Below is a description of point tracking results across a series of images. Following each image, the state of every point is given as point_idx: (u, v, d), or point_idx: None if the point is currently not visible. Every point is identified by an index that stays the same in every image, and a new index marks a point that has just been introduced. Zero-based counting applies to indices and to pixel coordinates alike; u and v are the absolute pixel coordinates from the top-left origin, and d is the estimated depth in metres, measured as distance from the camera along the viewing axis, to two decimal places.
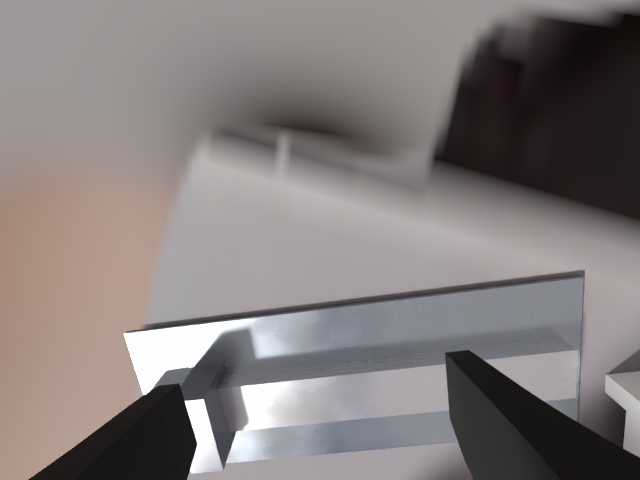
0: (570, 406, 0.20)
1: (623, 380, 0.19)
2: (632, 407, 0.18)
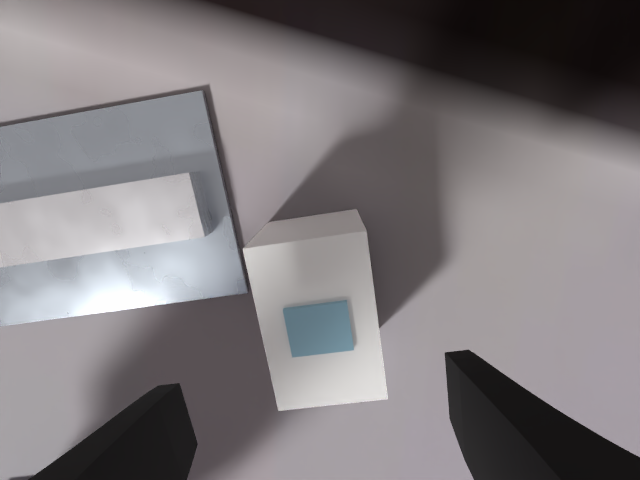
0: (231, 261, 0.17)
1: (275, 223, 0.16)
2: None
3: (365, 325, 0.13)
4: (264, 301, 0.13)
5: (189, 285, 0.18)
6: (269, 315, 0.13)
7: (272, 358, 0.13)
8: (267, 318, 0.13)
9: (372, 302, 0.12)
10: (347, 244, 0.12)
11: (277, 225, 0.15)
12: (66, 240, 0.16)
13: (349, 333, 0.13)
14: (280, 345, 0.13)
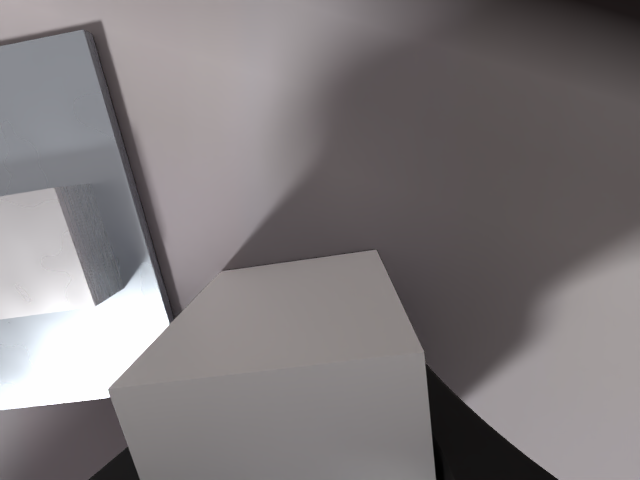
0: None
1: (230, 276, 0.09)
2: None
3: None
4: None
5: (89, 375, 0.10)
6: None
7: None
8: None
9: None
10: (372, 383, 0.05)
11: (230, 286, 0.08)
12: None
13: None
14: None
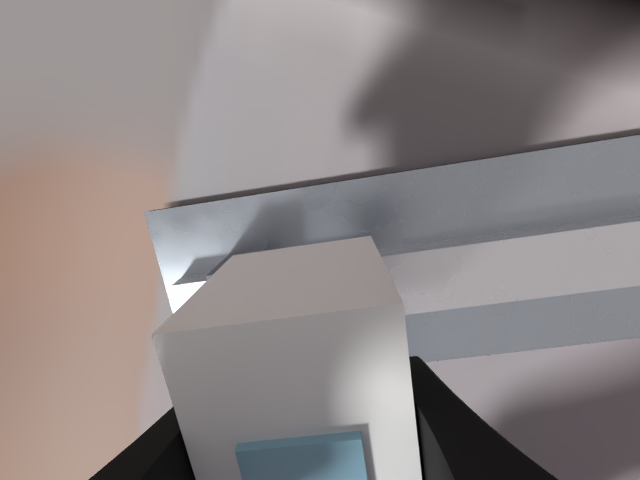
0: None
1: (242, 258, 0.10)
2: None
3: (396, 475, 0.07)
4: (200, 431, 0.06)
5: (633, 323, 0.17)
6: (211, 455, 0.07)
7: None
8: (207, 460, 0.07)
9: (410, 435, 0.06)
10: (363, 328, 0.06)
11: (242, 265, 0.09)
12: (552, 279, 0.15)
13: None
14: None
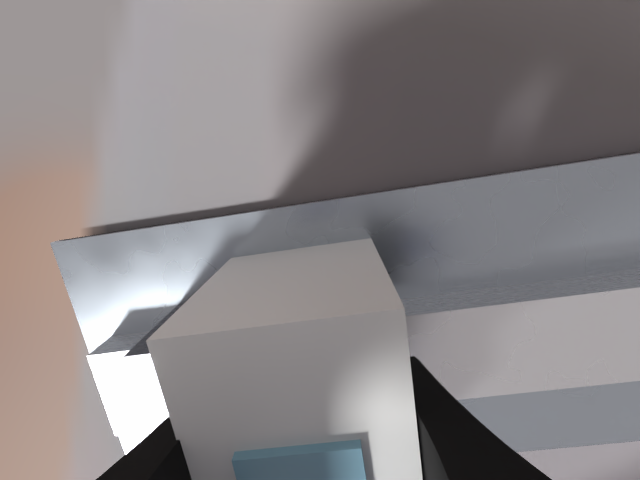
0: None
1: (240, 261, 0.10)
2: None
3: None
4: (196, 439, 0.06)
5: None
6: (207, 464, 0.06)
7: None
8: (203, 469, 0.06)
9: (412, 444, 0.06)
10: (363, 334, 0.06)
11: (240, 268, 0.09)
12: None
13: None
14: None
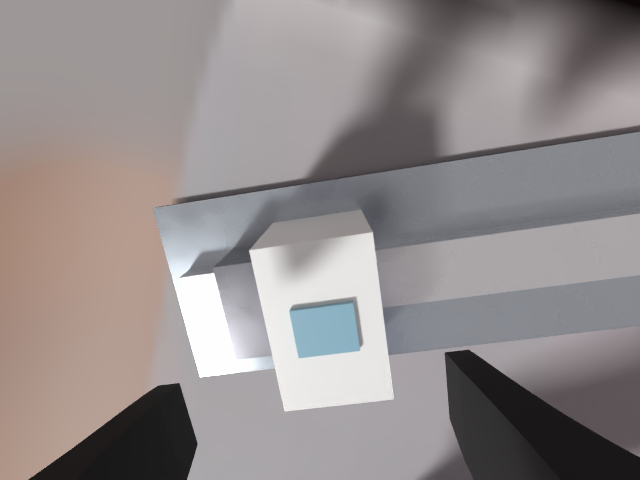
0: None
1: (280, 223, 0.16)
2: None
3: (371, 325, 0.13)
4: (270, 302, 0.13)
5: (618, 313, 0.17)
6: (275, 316, 0.13)
7: (278, 359, 0.13)
8: (273, 319, 0.13)
9: (378, 303, 0.12)
10: (353, 245, 0.12)
11: (282, 226, 0.16)
12: (540, 271, 0.16)
13: (355, 334, 0.13)
14: (286, 346, 0.13)
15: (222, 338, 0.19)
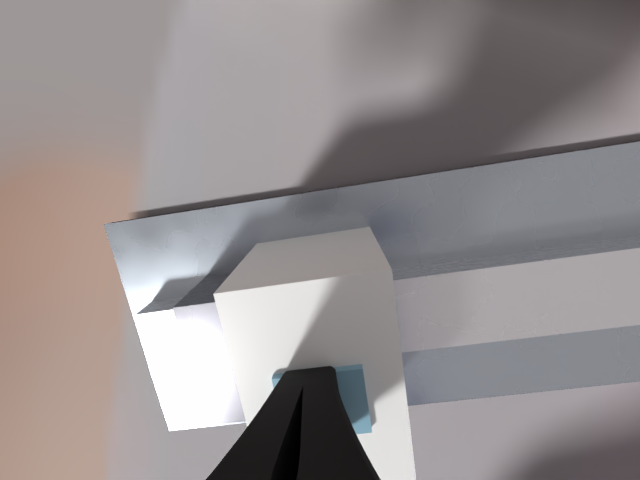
0: None
1: (265, 245, 0.13)
2: None
3: (388, 397, 0.09)
4: (245, 365, 0.09)
5: None
6: (253, 384, 0.09)
7: None
8: (250, 388, 0.09)
9: (398, 367, 0.09)
10: (363, 288, 0.08)
11: (267, 250, 0.12)
12: (603, 308, 0.12)
13: (365, 409, 0.09)
14: None
15: None
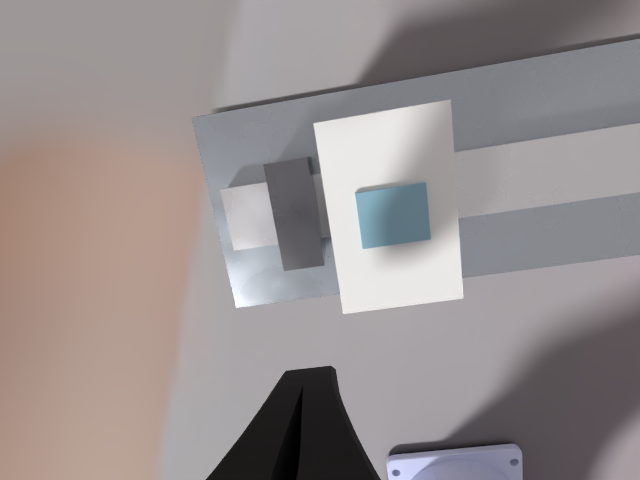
0: None
1: None
2: None
3: (443, 211, 0.12)
4: (334, 185, 0.12)
5: None
6: (339, 201, 0.12)
7: (339, 252, 0.12)
8: (336, 205, 0.12)
9: (452, 184, 0.11)
10: (428, 116, 0.11)
11: None
12: (608, 177, 0.15)
13: (426, 220, 0.12)
14: (349, 236, 0.12)
15: (261, 264, 0.18)
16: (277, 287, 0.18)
